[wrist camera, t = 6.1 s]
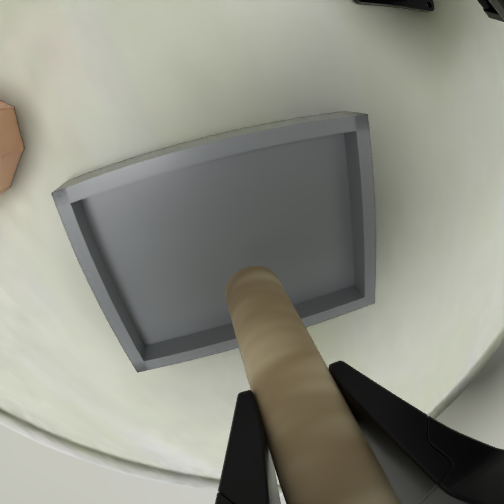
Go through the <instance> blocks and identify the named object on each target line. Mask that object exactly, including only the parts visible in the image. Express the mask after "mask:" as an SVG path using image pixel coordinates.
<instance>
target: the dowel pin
mask: <svg viewBox="0 0 504 504" xmlns="http://www.w3.org/2000/svg"><path fill="white" fill-rule="evenodd" d="M225 297H226V301H227V305H228V309H229V313H230V316H231V320H232V324H233V328H234V331H235V335H236V339H237V342H238V346H239V349H240V353H241V357H242V360H243V364H244V367H245V371H246V374H247V378H248V381H249V385H250V388H251V391H252V392H253V395H254V398H255V402H256V405H257V408H258V412H259V415H260V418H261V422H262V425H263V428H264V432H265V436H266V441H267V445H268V448H269V451H270V454H271V458H272V461H273V464H274V467H275V470H276V473H277V476H278V480H279V483H280V486H281V489H282V492H283V495H284V498H285V501H286V504H401V503H400V501H399V499H398V497H397V495H396V494H395V492H394V490H393V488H392V486H391V484H390V482H389V480H388V479H387V477H386V475H385V473H384V471H383V469H382V467H381V465H380V464H379V462H378V460H377V458H376V456H375V454H374V452H373V450H372V449H371V447H370V445H369V443H368V441H367V439H366V437H365V436H364V434H363V432H362V430H361V428H360V426H359V424H358V423H357V421H356V419H355V417H354V415H353V413H352V412H351V410H350V408H349V406H348V404H347V402H346V400H345V399H344V397H343V395H342V393H341V391H340V389H339V388H338V386H337V384H336V382H335V380H334V378H333V377H332V375H331V373H330V371H329V369H328V367H327V366H326V364H325V362H324V360H323V358H322V357H321V355H320V353H319V351H318V349H317V347H316V346H315V344H314V342H313V340H312V338H311V337H310V335H309V333H308V331H307V329H306V327H305V326H304V324H303V322H302V320H301V318H300V317H299V315H298V313H297V311H296V309H295V308H294V306H293V304H292V302H291V300H290V299H289V297H288V295H287V293H286V291H285V290H284V288H283V286H282V284H281V282H280V281H279V279H278V277H277V275H276V274H275V273H274V272H273V271H272V270H270V269H269V268H266V267H263V266H249V267H245V268H243V269H241V270H239V271H237V272H236V273H235V274H234V275H233V276H232V277H231V278H230V279H229V281H228V282H227V285H226V288H225Z"/></svg>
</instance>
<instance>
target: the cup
mask: <svg viewBox="0 0 504 504" xmlns="http://www.w3.org/2000/svg"><path fill="white" fill-rule="evenodd" d="M23 149H24V146H23V142H22V138H21V135H20V131H19V127H18V123H17V119H16V115H15V110H14V106H13V107H12V106H10V105H8V104H6V103H4V102H2V101H0V194H1V193H3V192H4V191H6V190H7V189H9V188H10V187H11V183H12V180H13V177H14V174H15V171H16V168H17V165H18V162H19V160H20V157H21V154H22V152H23Z"/></svg>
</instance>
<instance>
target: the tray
mask: <svg viewBox="0 0 504 504" xmlns="http://www.w3.org/2000/svg"><path fill="white" fill-rule="evenodd" d="M51 194H52V196H53V199H54V202H55V205H56V207H57V210H58V213H59V215H60V218H61V221H62V223H63V226H64V228H65V231H66V233H67V236H68V238H69V240H70V243H71V245H72V248H73V250H74V252H75V255H76V257H77V259H78V261H79V264H80V266H81V268H82V270H83V272H84V275H85V277H86V279H87V281H88V283H89V285H90V287H91V289H92V291H93V293H94V295H95V297H96V299H97V301H98V303H99V305H100V307H101V309H102V311H103V313H104V315H105V317H106V319H107V321H108V322H109V324H110V326H111V328H112V330H113V332H114V333H115V335H116V337H117V339H118V341H119V342H120V344H121V346H122V348H123V349H124V351H125V353H126V354H127V356H128V358H129V360H130V361H131V363H132V365H133V366H134V368H135V369H136V371H137V372H141V371H146V370H151V369H155V368H160V367H164V366H168V365H173V364H177V363H181V362H185V361H189V360H193V359H197V358H201V357H205V356H209V355H213V354H217V353H221V352H224V351H228V350H232V349H235V348H239V346H238V342H237V339H236V335H235V331H234V328H233V324H232V320H231V316H230V313H229V309H228V305H227V301H226V297H225V288H226V285H227V282H228V281H229V279H230V278H231V277H232V276H233V275H234V274H235V273H236V272H237V271H239V270H241V269H243V268H245V267H249V266H263V267H266V268H269V269H270V270H272V271H273V272H274V273H275V274H276V275H277V277H278V279H279V281H280V282H281V284H282V286H283V288H284V290H285V291H286V293H287V295H288V297H289V299H290V300H291V302H292V304H293V306H294V308H295V309H296V311H297V313H298V315H299V317H300V318H301V320H302V322H303V324H304V326H305V327H308V326H311V325H314V324H317V323H320V322H323V321H326V320H329V319H332V318H335V317H338V316H341V315H343V314H346V313H349V312H352V311H355V310H357V309H360V308H363V307H366V306H368V305H371V304H374V303H375V279H376V227H375V198H374V179H373V165H372V152H371V141H370V131H369V122H368V114H362V113H355V112H346V111H344V112H336V113H329V114H322V115H315V116H308V117H302V118H296V119H290V120H284V121H279V122H273V123H268V124H263V125H258V126H253V127H248V128H244V129H239V130H234V131H230V132H226V133H221V134H217V135H213V136H209V137H205V138H201V139H197V140H193V141H189V142H185V143H182V144H178V145H174V146H171V147H167V148H164V149H160V150H157V151H153V152H150V153H147V154H144V155H140V156H137V157H134V158H131V159H128V160H125V161H122V162H118V163H115V164H113V165H110V166H107V167H104V168H101V169H98V170H95V171H92V172H90V173H87V174H84V175H82V176H79V177H76V178H74V179H71V180H68V181H66V182H65V183H64V184H63V185H61V186H60V187H59V188H58V189H56V190H55V191H54V192H53V193H51Z"/></svg>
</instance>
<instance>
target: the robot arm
mask: <svg viewBox="0 0 504 504" xmlns="http://www.w3.org/2000/svg"><path fill="white" fill-rule="evenodd" d="M354 1H355V2H356V3H359V4H370V5H381V6H390V7H398V8H406V9H412V10H419V11H425V12H430V11H433V10H434V3H433V0H354ZM477 1H478V2H479V3H480V4H481V6H482V7H483V10H484V11H485V13H486V14H487V15H488V17H489V18H492V19H496V20H499V21H503V22H504V0H477ZM426 3H427V4H426ZM427 5H428V6H427ZM329 371H330V373H331V375H332V377H333V378H334V380H335V382H336V384H337V386H338V388H339V389H340V391H341V393H342V395H343V397H344V399H345V400H346V402H347V404H348V406H349V408H350V410H351V412H352V413H353V415H354V417H355V419H356V421H357V423H358V424H359V426H360V428H361V430H362V432H363V434H364V436H365V437H366V439H367V441H368V443H369V445H370V447H371V449H372V450H373V452H374V454H375V456H376V458H377V460H378V462H379V464H380V465H381V467H382V469H383V471H384V473H385V475H386V477H387V479H388V480H389V482H390V484H391V486H392V488H393V490H394V492H395V494H396V495H397V497H398V499H399V501H400V503H401V504H504V450H502V449H498V448H495V447H493V446H490V445H488V444H485V443H482V442H480V441H478V440H475V439H473V438H471V437H468V436H466V435H464V434H461V433H459V432H457V431H455V430H453V429H451V428H449V427H447V426H445V425H444V424H442V423H440V422H438V421H437V420H435V419H433V418H432V417H430V416H428V417H427V414H425V413H423V412H422V411H420V410H419V409H417V408H415V407H414V406H412V405H410V404H409V403H407V402H406V401H404V400H402V399H401V398H399V397H398V396H396V395H395V394H393V393H391V392H390V391H388V390H387V389H385V388H383V387H382V386H380V385H379V384H377V383H376V382H374V381H373V380H371V379H369V378H368V377H366V376H365V375H363V374H362V373H360V372H359V371H357V370H356V369H354V368H353V367H351V366H349V365H348V364H346V363H345V362H343V361H338V362H335V363H332V364H330V365H329ZM218 491H219V492H218V493H217V497H216V502H215V504H281V502H280V497H279V491H278V485H277V479H276V474H275V468H274V464H273V461H272V458H271V454H270V451H269V448H268V445H267V441H266V436H265V432H264V428H263V425H262V422H261V418H260V415H259V412H258V408H257V405H256V402H255V398H254V395H253V392H252V391H251V390H248V391H244V392H241V393H239V394H238V397H237V402H236V406H235V411H234V416H233V421H232V426H231V431H230V436H229V441H228V445H227V450H226V455H225V460H224V465H223V469H222V474H221V479H220V483H219V488H218Z"/></svg>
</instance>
